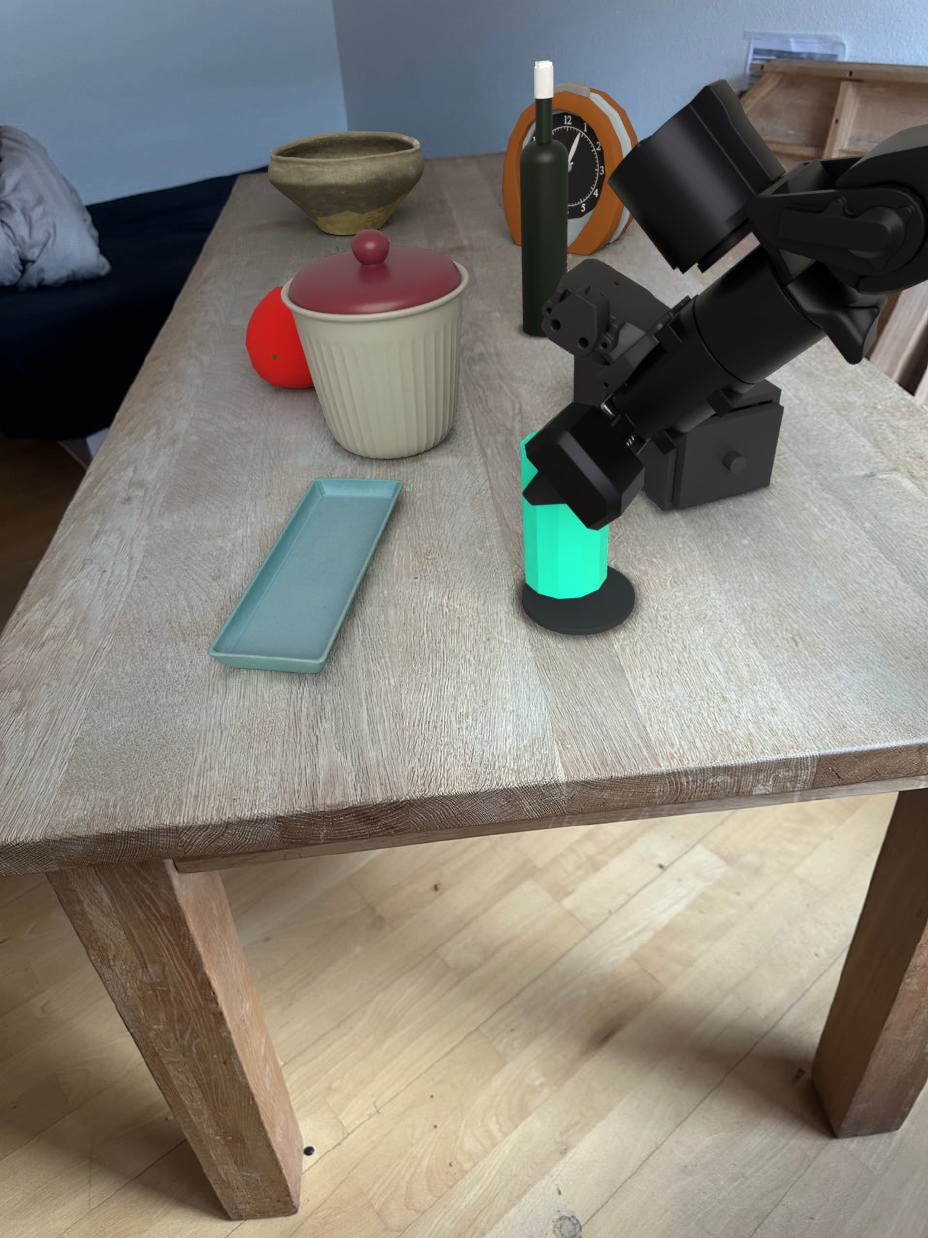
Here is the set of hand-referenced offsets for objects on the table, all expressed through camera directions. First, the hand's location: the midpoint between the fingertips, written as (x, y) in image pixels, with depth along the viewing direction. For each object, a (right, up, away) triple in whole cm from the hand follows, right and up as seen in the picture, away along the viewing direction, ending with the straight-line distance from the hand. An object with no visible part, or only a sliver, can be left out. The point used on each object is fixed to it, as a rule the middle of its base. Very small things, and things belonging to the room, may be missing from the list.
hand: (547, 477), depth 57 cm
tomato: (-24, +20, +48) cm, 57 cm away
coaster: (+4, -8, +11) cm, 14 cm away
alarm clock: (+12, +54, +85) cm, 101 cm away
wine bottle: (+5, +29, +56) cm, 63 cm away
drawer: (+15, +7, +26) cm, 31 cm away
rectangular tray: (-18, -6, +16) cm, 24 cm away
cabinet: (+14, +7, +28) cm, 33 cm away
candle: (+2, -6, +4) cm, 8 cm away
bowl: (-26, +63, +100) cm, 121 cm away
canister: (-13, +10, +35) cm, 38 cm away
